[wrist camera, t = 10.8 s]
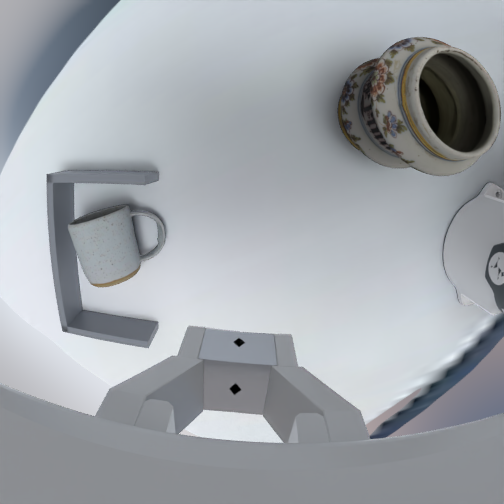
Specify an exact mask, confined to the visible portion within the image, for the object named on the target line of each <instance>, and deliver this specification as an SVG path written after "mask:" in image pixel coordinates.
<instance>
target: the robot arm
mask: <svg viewBox="0 0 504 504" xmlns="http://www.w3.org/2000/svg"><path fill="white" fill-rule="evenodd" d="M443 260H444V267H445V271H446V274H447V276H448V278H449V280H450V281H451V283H452V284H453V285H454V286H455V288H456V290H457V295H458V300H459V302H460V303H461V304H463V305H465V306H467V305H471V304H476V305H478V306H479V307H480V308H482V309H483V310H485V311H486V312H488V313H489V314H491V315H496V314H500V313H504V190H503V189H502V188H500V187H499V186H497V185H496V184H493V183H487V184H486V185H485V187H484V188H483V189H482V191H481V192H480V194H479V195H478V196H477V197H476V198H474V199H473V200H471V201H469V202H468V203H467V204H465V205H464V206H463V207H462V208H461V209H460V210H459V212H458V213H457V214H456V216H455V217H454V219H453V221H452V223H451V225H450V227H449V229H448V232H447V235H446V239H445V244H444V252H443ZM203 410H214V411H227V412H238V413H249V414H260V415H263V416H264V418H265V419H266V420H267V422H268V423H269V424H270V426H271V427H272V428H273V430H274V431H275V432H276V433H277V435H278V436H279V437H280V438H281V440H282V441H283V442H284V443H265V442H246V441H232V440H221V439H211V438H203V437H194V436H187V435H180V434H179V433H180V432H181V431H182V430H183V429H184V428H185V427H187V426H188V425H189V424H190V423H191V422H192V421H193V420H194V419H195V418H196V417H197V416H198V415H199V414H200V413H201V412H203ZM0 504H504V413H501V414H499V415H495V416H492V417H488V418H484V419H481V420H477V421H473V422H469V423H465V424H461V425H457V426H452V427H448V428H443V429H438V430H433V431H428V432H422V433H417V434H411V435H405V436H397V437H389V438H381V439H371V440H370V437H369V434H368V431H367V428H366V425H365V423H364V420H363V417H362V414H361V411H360V410H359V409H357V408H356V407H355V406H353V405H352V404H351V403H349V402H348V401H346V400H345V399H344V398H342V397H341V396H340V395H339V394H337V393H336V392H335V391H333V390H332V389H331V388H329V387H328V386H327V385H325V384H324V383H323V382H321V381H320V380H319V379H318V378H316V377H315V376H314V375H312V374H311V373H310V372H309V371H307V370H306V369H305V368H304V367H298V364H297V359H296V353H295V348H294V343H293V338H292V335H291V334H266V333H248V332H240V331H231V330H222V329H214V328H205V327H198V326H189V327H187V330H186V333H185V336H184V339H183V341H182V344H181V347H180V350H179V353H178V356H171V357H169V358H167V359H165V360H163V361H162V362H160V363H158V364H156V365H154V366H152V367H151V368H149V369H147V370H145V371H143V372H141V373H139V374H137V375H135V376H134V377H132V378H130V379H128V380H126V381H124V382H122V383H120V384H118V385H116V386H114V387H112V388H110V389H109V391H108V393H107V395H106V397H105V399H104V400H103V402H102V404H101V406H100V408H99V410H98V412H97V414H96V416H92V415H88V414H85V413H81V412H78V411H75V410H71V409H68V408H65V407H62V406H59V405H56V404H53V403H50V402H47V401H44V400H42V399H39V398H36V397H34V396H31V395H29V394H26V393H24V392H21V391H19V390H16V389H14V388H11V387H9V386H7V385H4V384H2V383H0Z"/></svg>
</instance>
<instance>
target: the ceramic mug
mask: <svg viewBox="0 0 504 504" xmlns="http://www.w3.org/2000/svg"><path fill="white" fill-rule="evenodd" d="M134 215H142V216H148V217H150V218H152V219H154V221H156V222H157V227H158V238H157V240H158V245H157V247H156V248H155V249H154V250H153V251H151V252H149V253H147V254H145V255H142V256H140V254H139V249H138V245H137V241H136V238H135V233H134V227H133V222H132V216H134ZM68 230H69V233H70V235H71V238H72V241H73V244H74V247H75V250H76V253H77V255H78V258H79V260H80V263H81V266H82V269H83V271H84V274H85V276H86V277H87V279H88V281H89V282H90V283H91V284H92V285H93V286H96V287H109V286H113V285H116V284H120V283H122V282H124V281H126V280H128V279H130V278H132V277H133V276H134V275H135V274H136V273H137V272H138V270H139V269H140V264H141V262H142V261H145V260H149V259H150V258H153V257H154V256H155V255H157V254H158V253H159V252H160V250H161V249H162V247H163V245H164V242H165V229H164V226H163V223H162V222H161V220H160V219H159V218H158V217H157V216H156V215H154V214H152V213H150V212H147V211H130V208H129V206H128V205H118V206H113V207H109V208H105V209H102V210H98V211H95V212H92V213H89V214H86V215H84V216H82V217H79V218H78V219H76V220H74V221H72V222H70V223H69V224H68Z"/></svg>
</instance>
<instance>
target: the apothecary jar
mask: <svg viewBox="0 0 504 504" xmlns="http://www.w3.org/2000/svg"><path fill="white" fill-rule="evenodd" d="M338 119H339V124H340V126H341V129H342V131H343V133H344V135H345V136H346V138H347V139H348V141H349V142H350V143H351V144H352V145H353V146H354V147H356V148H357V149H358V150H360V151H361V152H362V153H363V154H364V155H366V156H367V157H368V158H369V159H371V160H373V161H374V162H376V163H378V164H380V165H383V166H386V167H390V168H408V167H412V168H414V169H416V170H418V171H421V172H423V173H426V174H430V175H436V176H449V175H454V174H457V173H460V172H462V171H464V170H466V169H468V168H469V167H470V166H472V165H473V164H474V163H475V162H476V161H477V160H478V159H479V158H480V156H481V155H482V154H484V153H485V152H487V151H488V150H489V149H490V148H491V146H492V145H493V143H494V142H495V140H496V138H497V135H498V131H499V127H500V119H501V109H500V101H499V96H498V93H497V90H496V87H495V85H494V83H493V81H492V79H491V77H490V76H489V74H488V73H487V71H486V70H485V68H484V67H483V66H482V65H481V64H480V63H479V62H478V61H477V60H476V59H475V58H474V57H472V56H471V55H470V54H468V53H467V52H465V51H463V50H461V49H458V48H455V47H451V46H450V45H448V44H446V43H444V42H441V41H438V40H435V39H432V38H425V37H414V38H408V39H404V40H401V41H399V42H397V43H395V44H394V45H392V46H391V47H390V48H388V49H387V50H386V51H385V52H384V54H383V55H382V56H381V57H380V58H377V59H373V60H370V61H367V62H365V63H363V64H362V65H360V66H359V67H358V68H357V69H356V70H355V71H354V72H353V73H352V74H351V75H350V76H349V78H348V79H347V81H346V83H345V86H344V88H343V91H342V95H341V97H340V100H339V104H338Z"/></svg>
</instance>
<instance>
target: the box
mask: <svg viewBox="0 0 504 504" xmlns="http://www.w3.org/2000/svg"><path fill="white" fill-rule="evenodd" d="M158 177H159V172H146V171H104V170H68V171H62V172H56V173H51V174H47V213H48V230H49V243H50V254H51V263H52V271H53V279H54V286H55V292H56V299H57V305H58V310H59V316H60V321H61V326H62V331H63V332H67V333H72V334H76V335H81V336H85V337H90V338H95V339H100V340H105V341H110V342H116V343H121V344H127V345H132V346H138V347H144V348H149V346H150V344H151V342H152V340H153V338H154V336H155V334H156V332H157V330H158V322H154V321H147V320H140V319H134V318H127V317H121V316H115V315H109V314H103V313H97V312H91V311H86V310H83V309H82V302H81V294H80V286H79V277H78V267H77V256H76V250H75V247H74V244H73V241H72V238H71V235H70V233H69V230H68V224H69V223H70V222H72V221H74V183H107V184H135V185H146V184H149V183H152V182H155V181H158Z"/></svg>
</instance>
